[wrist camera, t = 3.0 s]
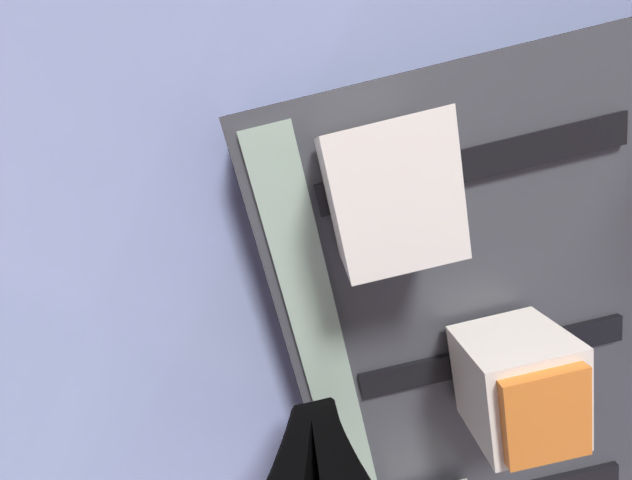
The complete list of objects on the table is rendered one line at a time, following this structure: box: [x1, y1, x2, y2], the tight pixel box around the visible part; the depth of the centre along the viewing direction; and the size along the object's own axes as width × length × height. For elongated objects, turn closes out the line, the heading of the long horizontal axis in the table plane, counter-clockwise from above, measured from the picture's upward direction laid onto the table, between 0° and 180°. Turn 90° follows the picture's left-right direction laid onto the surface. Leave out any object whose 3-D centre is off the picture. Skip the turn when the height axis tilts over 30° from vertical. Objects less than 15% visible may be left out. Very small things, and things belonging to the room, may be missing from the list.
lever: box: [314, 103, 472, 286], centre depth 9 cm, size 3×4×2 cm
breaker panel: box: [219, 17, 632, 480], centre depth 13 cm, size 14×20×2 cm
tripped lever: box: [445, 306, 594, 473], centre depth 11 cm, size 3×4×3 cm
